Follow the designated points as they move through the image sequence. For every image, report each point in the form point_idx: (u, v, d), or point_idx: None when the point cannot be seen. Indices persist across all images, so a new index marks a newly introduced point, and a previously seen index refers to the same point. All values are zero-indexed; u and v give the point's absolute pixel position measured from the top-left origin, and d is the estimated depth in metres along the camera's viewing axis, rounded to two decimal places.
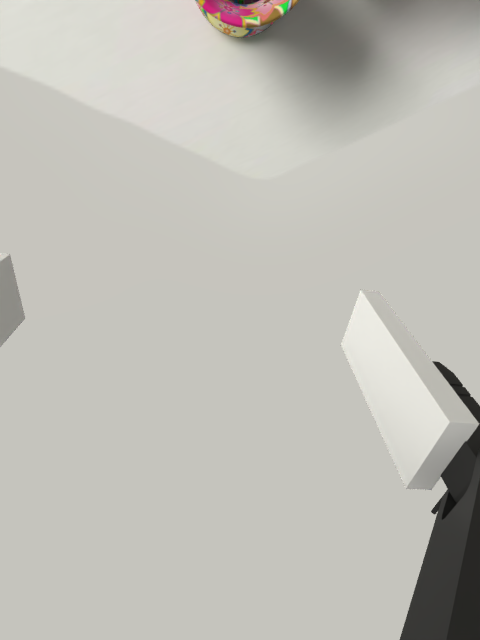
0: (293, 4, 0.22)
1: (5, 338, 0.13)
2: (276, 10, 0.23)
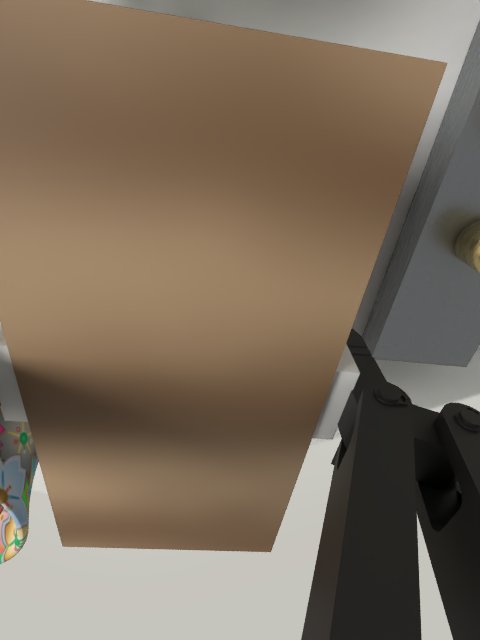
0: (7, 559, 0.18)
1: None
2: None
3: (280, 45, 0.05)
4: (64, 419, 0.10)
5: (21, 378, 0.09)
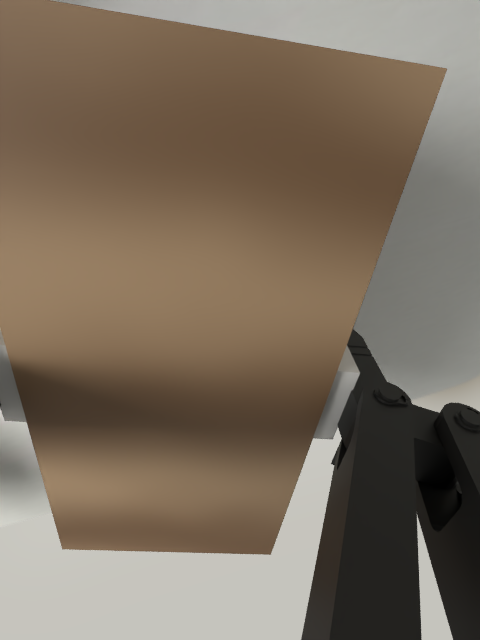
0: None
1: None
2: None
3: (279, 51, 0.05)
4: (64, 422, 0.10)
5: (21, 382, 0.09)
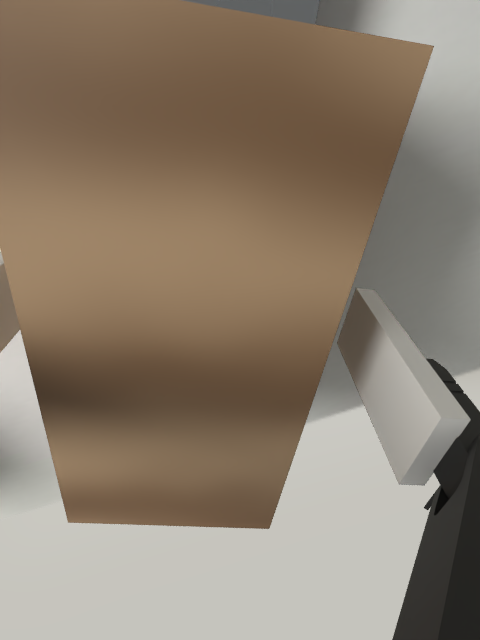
0: None
1: (11, 336, 0.13)
2: None
3: (278, 29, 0.06)
4: (72, 393, 0.10)
5: (31, 352, 0.09)
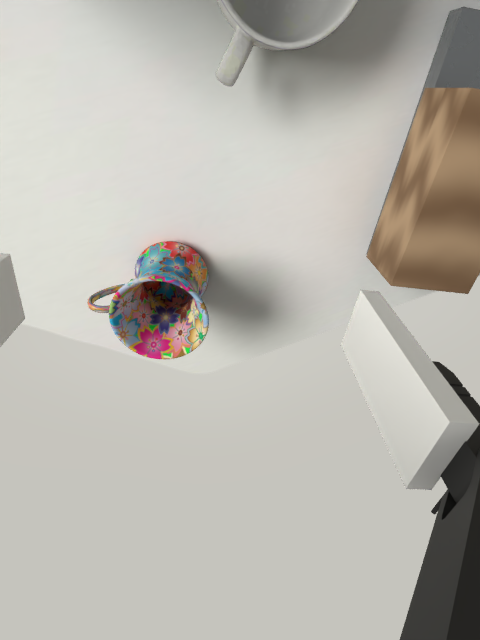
0: (192, 350, 0.35)
1: (5, 338, 0.13)
2: (183, 351, 0.36)
3: None
4: (431, 213, 0.30)
5: (428, 195, 0.29)
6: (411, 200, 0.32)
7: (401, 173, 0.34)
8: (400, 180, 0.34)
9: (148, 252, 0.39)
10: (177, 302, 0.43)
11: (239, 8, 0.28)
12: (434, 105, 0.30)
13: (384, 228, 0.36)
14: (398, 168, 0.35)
